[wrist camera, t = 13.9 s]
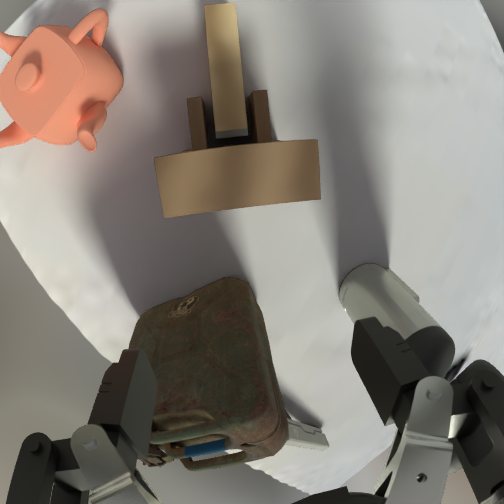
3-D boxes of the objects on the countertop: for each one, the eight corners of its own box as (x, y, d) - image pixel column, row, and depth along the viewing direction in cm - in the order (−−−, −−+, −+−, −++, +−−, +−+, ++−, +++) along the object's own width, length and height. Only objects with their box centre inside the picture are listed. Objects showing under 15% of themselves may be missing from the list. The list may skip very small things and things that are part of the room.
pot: (22, 152, 32) (-32, 166, 20) (33, 43, 25) (-16, 28, 14) (130, 144, 34) (92, 152, 23) (144, 23, 28) (116, -14, 16)
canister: (242, 267, 43) (268, 412, 20) (264, 311, 46) (299, 452, 23) (134, 313, 44) (90, 447, 21) (162, 349, 47) (141, 481, 24)
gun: (264, 392, 52) (279, 436, 44) (317, 415, 66) (331, 447, 58) (254, 398, 53) (267, 442, 44) (309, 419, 67) (322, 451, 59)
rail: (233, 17, 29) (235, 2, 24) (244, 135, 35) (248, 135, 31) (205, 19, 29) (204, 5, 24) (216, 138, 35) (216, 138, 31)
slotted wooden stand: (277, 95, 34) (311, 74, 20) (284, 173, 38) (320, 199, 24) (174, 106, 33) (145, 91, 19) (184, 185, 37) (164, 218, 23)
